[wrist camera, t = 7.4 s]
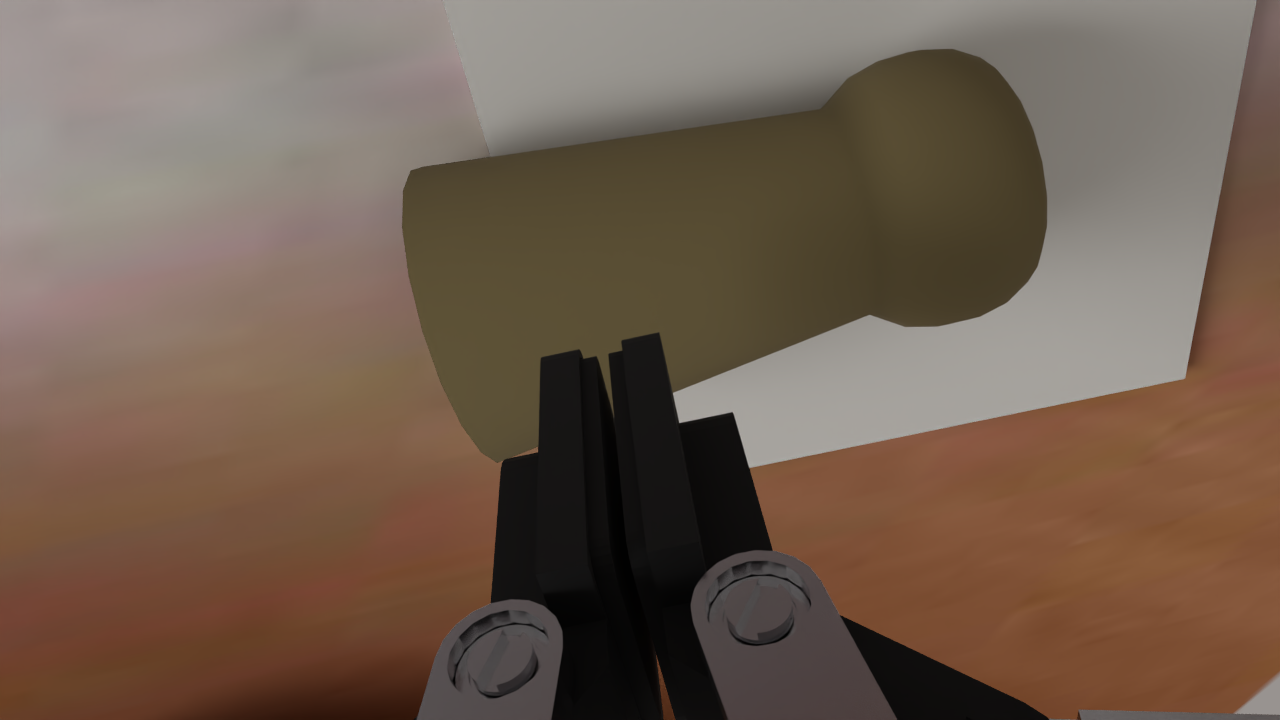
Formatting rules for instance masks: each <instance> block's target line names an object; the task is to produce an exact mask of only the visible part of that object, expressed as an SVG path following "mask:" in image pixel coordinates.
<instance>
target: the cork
mask: <svg viewBox="0 0 1280 720" xmlns="http://www.w3.org/2000/svg"><path fill="white" fill-rule="evenodd" d="M402 229H403V237H404V244H405V252H406V259H407V266H408V274H409V279H410V283H411V287H412V291H413V295H414V299H415V303H416V307H417V311H418V315H419V319H420V323H421V327H422V331H423V334H424V337H425V340H426V343H427V345H428V348H429V351H430V354H431V357H432V359H433V362H434V365H435V368H436V371H437V373H438V376H439V379H440V382H441V384H442V386H443V388H444V391H445V393H446V395H447V397H448V399H449V401H450V403H451V405H452V407H453V409H454V411H455V413H456V415H457V417H458V419H459V421H460V423H461V425H462V427H463V428H464V429H465V431H466V432H467V434H468V435H469V436H470V438H471V439H472V440H473V442H474V443H475V445H476V446H477V447H478V449H479V450H480V451H481V453H483V454H484V455H486V456H488V457H489V458H491V459H492V460H494V461H495V462H497V463H498V462H501V461H503V460H505V459H508V458H511V457H513V456H516V455H518V454H521V453H523V452H526V451H528V450H531V449H533V448H536V447H538V442H539V397H540V360H541V358H542V357H544V356H549V355H554V354H559V353H563V352H568V351H573V350H577V349H580V351H581V353H582V355H583V358H584V359H585V358H590V357H594V356H597V358H598V361H599V364H600V367H601V371H602V375H603V378H604V382H605V386H606V389H607V393H608V397H609V400H610V404H611V408H612V412H613V415H614V410H613V399H612V389H611V378H610V368H609V357H608V354H609V353H613V352H618V351H622V344H621V341H622V340H625V339H629V338H634V337H639V336H643V335H648V334H653V333H658V332H659V333H660V337H661V341H662V346H663V350H664V355H665V360H666V364H667V369H668V373H669V378H670V382H671V387H672V392H673V393H674V392H677V391H679V390H682V389H684V388H687V387H689V386H692V385H694V384H697V383H699V382H702V381H704V380H707V379H709V378H712V377H714V376H717V375H719V374H722V373H724V372H727V371H729V370H732V369H734V368H737V367H740V366H742V365H745V364H747V363H750V362H752V361H755V360H757V359H760V358H762V357H765V356H767V355H770V354H772V353H775V352H777V351H780V350H782V349H785V348H787V347H790V346H792V345H795V344H797V343H800V342H802V341H805V340H807V339H810V338H812V337H815V336H817V335H820V334H823V333H825V332H828V331H830V330H833V329H835V328H838V327H840V326H843V325H845V324H848V323H850V322H853V321H855V320H858V319H860V318H863V317H865V316H868V315H872V316H874V317H877V318H880V319H883V320H886V321H889V322H892V323H895V324H898V325H901V326H904V327H938V326H943V325H948V324H952V323H956V322H960V321H965V320H969V319H973V318H977V317H981V316H983V315H984V314H986V313H988V312H990V311H992V310H994V309H996V308H998V307H1000V306H1002V305H1004V304H1005V303H1007V302H1008V301H1009V300H1010V299H1011V298H1012V297H1013V296H1014V295H1015V294H1016V293H1017V292H1018V291H1019V290H1020V289H1021V288H1022V287H1023V286H1024V285H1025V284H1026V283H1027V282H1028V281H1029V279H1030V278H1031V276H1032V275H1033V273H1034V272H1035V270H1036V268H1037V267H1038V264H1039V260H1040V256H1041V252H1042V248H1043V244H1044V239H1045V234H1046V229H1047V191H1046V184H1045V177H1044V170H1043V163H1042V159H1041V155H1040V152H1039V148H1038V145H1037V141H1036V137H1035V134H1034V130H1033V128H1032V125H1031V123H1030V121H1029V118H1028V116H1027V114H1026V112H1025V109H1024V107H1023V105H1022V103H1021V101H1020V99H1019V98H1018V96H1017V95H1016V94H1015V92H1014V91H1013V89H1012V88H1011V86H1010V85H1009V84H1008V82H1007V81H1006V80H1005V78H1004V77H1003V76H1002V75H1001V74H1000V73H999V71H998V70H997V69H996V68H995V67H993V66H992V65H991V64H989V63H988V62H986V61H985V60H983V59H982V58H980V57H978V56H974V55H971V54H968V53H965V52H961V51H958V50H955V49H931V50H917V51H912V52H907V53H904V54H900V55H897V56H894V57H890V58H887V59H884V60H880V61H877V62H875V63H874V64H872V65H870V66H868V67H866V68H865V69H863V70H861V71H859V72H858V73H856V74H854V75H852V76H851V77H849V78H847V80H846V81H845V82H844V83H843V84H842V85H841V86H840V87H839V89H838V90H837V91H836V92H835V93H834V94H833V95H832V97H831V98H830V99H829V100H828V101H827V102H826V103H825V105H824V106H823V107H822V108H821V109H817V110H810V111H804V112H797V113H790V114H783V115H776V116H769V117H762V118H755V119H749V120H742V121H735V122H728V123H721V124H714V125H707V126H700V127H694V128H687V129H680V130H673V131H666V132H659V133H652V134H645V135H639V136H632V137H625V138H618V139H611V140H604V141H597V142H590V143H584V144H577V145H570V146H563V147H556V148H549V149H542V150H535V151H529V152H522V153H515V154H508V155H501V156H494V157H487V158H481V159H474V160H467V161H460V162H453V163H446V164H439V165H432V166H426V167H421V168H418V169H414V170H411V171H410V174H409V177H408V179H407V182H406V185H405V187H404V190H403V216H402Z"/></svg>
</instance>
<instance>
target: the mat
mask: <svg viewBox="0 0 1280 720" xmlns="http://www.w3.org/2000/svg"><path fill="white" fill-rule="evenodd" d="M442 1H443V4H444V7H445V11H446V14H447V17H448V20H449V24H450V27H451V30H452V33H453V37H454V40H455V43H456V46H457V50H458V53H459V56H460V59H461V63H462V66H463V69H464V72H465V76H466V79H467V82H468V85H469V89H470V92H471V95H472V98H473V102H474V105H475V108H476V111H477V115H478V118H479V121H480V124H481V128H482V131H483V134H484V137H485V141H486V144H487V147H488V150H489V154H490V157H494V156H501V155H508V154H515V153H522V152H529V151H535V150H542V149H549V148H556V147H563V146H570V145H577V144H584V143H590V142H597V141H604V140H611V139H618V138H625V137H632V136H639V135H645V134H652V133H659V132H666V131H673V130H680V129H687V128H694V127H700V126H707V125H714V124H721V123H728V122H735V121H742V120H749V119H755V118H762V117H769V116H776V115H783V114H790V113H797V112H804V111H810V110H817V109H821V108H822V107H823V106H824V105H825V103H826V102H827V101H828V100H829V99H830V98H831V97H832V95H833V94H834V93H835V92H836V91H837V90H838V89H839V87H840V86H841V85H842V84H843V83H844V82H845V81H846V80H847V78H849V77H851V76H852V75H854V74H856V73H858V72H859V71H861V70H863V69H865V68H866V67H868V66H870V65H872V64H874V63H875V62H877V61H880V60H884V59H887V58H890V57H894V56H897V55H900V54H904V53H907V52H912V51H917V50H931V49H955V50H958V51H961V52H965V53H968V54H971V55H974V56H978V57H980V58H982V59H983V60H985V61H986V62H988V63H989V64H991V65H992V66H993V67H995V68H996V69H997V70H998V71H999V73H1000V74H1001V75H1002V76H1003V77H1004V78H1005V80H1006V81H1007V82H1008V84H1009V85H1010V86H1011V88H1012V89H1013V91H1014V92H1015V94H1016V95H1017V96H1018V98H1019V99H1020V101H1021V103H1022V105H1023V107H1024V109H1025V112H1026V114H1027V116H1028V118H1029V121H1030V123H1031V125H1032V128H1033V130H1034V134H1035V137H1036V141H1037V145H1038V148H1039V152H1040V155H1041V159H1042V163H1043V170H1044V177H1045V184H1046V191H1047V229H1046V234H1045V239H1044V244H1043V248H1042V252H1041V256H1040V260H1039V264H1038V267H1037V268H1036V270H1035V272H1034V273H1033V275H1032V276H1031V278H1030V279H1029V281H1028V282H1027V283H1026V284H1025V285H1024V286H1023V287H1022V288H1021V289H1020V290H1019V291H1018V292H1017V293H1016V294H1015V295H1014V296H1013V297H1012V298H1011V299H1010V300H1009V301H1008V302H1007V303H1005V304H1004V305H1002V306H1000V307H998V308H996V309H994V310H992V311H990V312H988V313H986V314H984V315H983V316H981V317H977V318H973V319H969V320H965V321H960V322H956V323H952V324H948V325H943V326H938V327H904V326H901V325H898V324H895V323H892V322H889V321H886V320H883V319H880V318H877V317H874V316H872V315H868V316H865V317H863V318H860V319H858V320H855V321H853V322H850V323H848V324H845V325H843V326H840V327H838V328H835V329H833V330H830V331H828V332H825V333H823V334H820V335H817V336H815V337H812V338H810V339H807V340H805V341H802V342H800V343H797V344H795V345H792V346H790V347H787V348H785V349H782V350H780V351H777V352H775V353H772V354H770V355H767V356H765V357H762V358H760V359H757V360H755V361H752V362H750V363H747V364H745V365H742V366H740V367H737V368H734V369H732V370H729V371H727V372H724V373H722V374H719V375H717V376H714V377H712V378H709V379H707V380H704V381H702V382H699V383H697V384H694V385H692V386H689V387H687V388H684V389H682V390H679V391H677V392H674V393H673V396H674V401H675V405H676V410H677V414H678V419H679V423H682V422H687V421H692V420H697V419H701V418H706V417H711V416H716V415H721V414H726V413H730V412H733V414H734V417H735V420H736V423H737V427H738V430H739V434H740V437H741V441H742V444H743V448H744V451H745V455H746V458H747V462H748V466H749V468H751V467H756V466H761V465H766V464H771V463H776V462H781V461H785V460H790V459H795V458H800V457H805V456H810V455H815V454H820V453H825V452H829V451H834V450H839V449H844V448H849V447H854V446H859V445H864V444H868V443H873V442H878V441H883V440H888V439H893V438H898V437H903V436H907V435H912V434H917V433H922V432H927V431H932V430H937V429H942V428H946V427H951V426H956V425H961V424H966V423H971V422H976V421H981V420H985V419H990V418H995V417H1000V416H1005V415H1010V414H1015V413H1020V412H1024V411H1029V410H1034V409H1039V408H1044V407H1049V406H1054V405H1059V404H1063V403H1068V402H1073V401H1078V400H1083V399H1088V398H1093V397H1098V396H1103V395H1107V394H1112V393H1117V392H1122V391H1127V390H1132V389H1137V388H1142V387H1146V386H1151V385H1156V384H1161V383H1166V382H1171V381H1176V380H1181V379H1185V375H1186V370H1187V365H1188V360H1189V354H1190V349H1191V344H1192V339H1193V333H1194V328H1195V323H1196V318H1197V312H1198V307H1199V302H1200V296H1201V291H1202V286H1203V281H1204V275H1205V270H1206V265H1207V260H1208V254H1209V249H1210V244H1211V239H1212V233H1213V228H1214V223H1215V218H1216V212H1217V207H1218V202H1219V196H1220V191H1221V186H1222V181H1223V175H1224V170H1225V165H1226V160H1227V154H1228V149H1229V144H1230V139H1231V133H1232V128H1233V123H1234V117H1235V112H1236V107H1237V102H1238V96H1239V91H1240V86H1241V81H1242V75H1243V70H1244V65H1245V60H1246V54H1247V49H1248V44H1249V38H1250V33H1251V28H1252V23H1253V17H1254V12H1255V7H1256V2H1257V0H442Z"/></svg>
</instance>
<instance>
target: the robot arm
mask: <svg viewBox="0 0 1280 720" xmlns="http://www.w3.org/2000/svg"><path fill="white" fill-rule="evenodd" d="M621 344H622V351H618V352H613V353H609V354H608V357H609V368H610V378H611V389H612V399H613V410H614V415H613V412H612V408H611V404H610V400H609V397H608V393H607V389H606V386H605V382H604V378H603V375H602V371H601V367H600V364H599V361H598V358H597V356H594V357H590V358H585V359H584V358H583V355H582V353H581V351H580V349H577V350H573V351H568V352H563V353H559V354H554V355H549V356H544V357H542V358H541V360H540V397H539V442H538V453H533V454H528V455H523V456H519V457H514V458H509V459H505V460H504V461H503V462H502V467H501V475H500V488H499V501H498V515H497V528H496V541H495V554H494V567H493V581H492V594H491V604H489V605H487V606H484V607H482V608H480V609H478V610H476V611H474V612H472V613H471V614H469V615H468V616H467V617H465V618H464V619H463V620H461V621H460V622H459V623H457V624H456V625H455V627H454V628H453V629H452V630H451V631H450V633H449V634H448V635H447V636H446V637H445V639H444V640H443V642H442V644H441V646H440V648H439V650H438V653H437V655H436V657H435V660H434V663H433V667H432V670H431V673H430V677H429V680H428V683H427V687H426V690H425V693H424V697H423V700H422V703H421V707H420V710H419V714H418V716H417V717H416V718H415V719H414V720H663V710H662V702H661V693H660V685H659V676H658V668H657V659H656V655H657V658H658V661H659V665H660V668H661V672H662V675H663V678H664V682H665V685H666V689H667V692H668V695H669V699H670V702H671V706H672V709H673V712H674V716H675V719H676V720H1069V719H1048V718H1047V717H1046V716H1045V715H1043V714H1041V713H1040V712H1038V711H1037V710H1035V709H1034V708H1032V707H1030V706H1029V705H1027V704H1026V703H1024V702H1022V701H1020V700H1018V699H1015V698H1013V697H1011V696H1009V695H1007V694H1005V693H1003V692H1001V691H999V690H997V689H994V688H992V687H990V686H988V685H986V684H984V683H982V682H980V681H978V680H975V679H973V678H971V677H969V676H967V675H965V674H963V673H961V672H959V671H957V670H954V669H952V668H950V667H948V666H946V665H944V664H942V663H940V662H938V661H935V660H933V659H931V658H929V657H927V656H925V655H923V654H921V653H919V652H917V651H914V650H912V649H910V648H908V647H906V646H904V645H902V644H900V643H898V642H895V641H893V640H891V639H889V638H887V637H885V636H883V635H881V634H879V633H876V632H874V631H872V630H870V629H868V628H866V627H864V626H862V625H860V624H858V623H855V622H853V621H851V620H849V619H847V618H845V617H843V616H841V615H839V613H838V611H837V609H836V607H835V606H834V604H833V602H832V600H831V598H830V596H829V595H828V593H827V591H826V589H825V587H824V586H823V584H822V582H821V580H820V579H819V578H818V577H817V575H816V574H815V573H814V572H813V570H812V569H811V568H810V567H809V566H808V565H806V564H805V563H803V562H801V561H800V560H798V559H797V558H795V557H793V556H790V555H787V554H783V553H780V552H777V551H773V550H772V546H771V543H770V539H769V536H768V532H767V529H766V525H765V522H764V518H763V515H762V511H761V508H760V504H759V501H758V497H757V494H756V490H755V487H754V483H753V480H752V476H751V473H750V469H749V466H748V462H747V458H746V455H745V451H744V448H743V444H742V441H741V437H740V434H739V430H738V427H737V423H736V420H735V417H734V414H733V412H730V413H726V414H721V415H716V416H711V417H706V418H701V419H697V420H692V421H687V422H682V423H679V419H678V414H677V410H676V405H675V401H674V396H673V392H672V387H671V382H670V378H669V373H668V369H667V364H666V360H665V355H664V350H663V346H662V341H661V337H660V333H659V332H658V333H653V334H648V335H643V336H639V337H634V338H629V339H625V340H622V341H621ZM1077 720H1280V715H1262V714H1261V715H1260V714H1222V713H1183V712H1144V711H1105V710H1078V717H1077Z"/></svg>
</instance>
